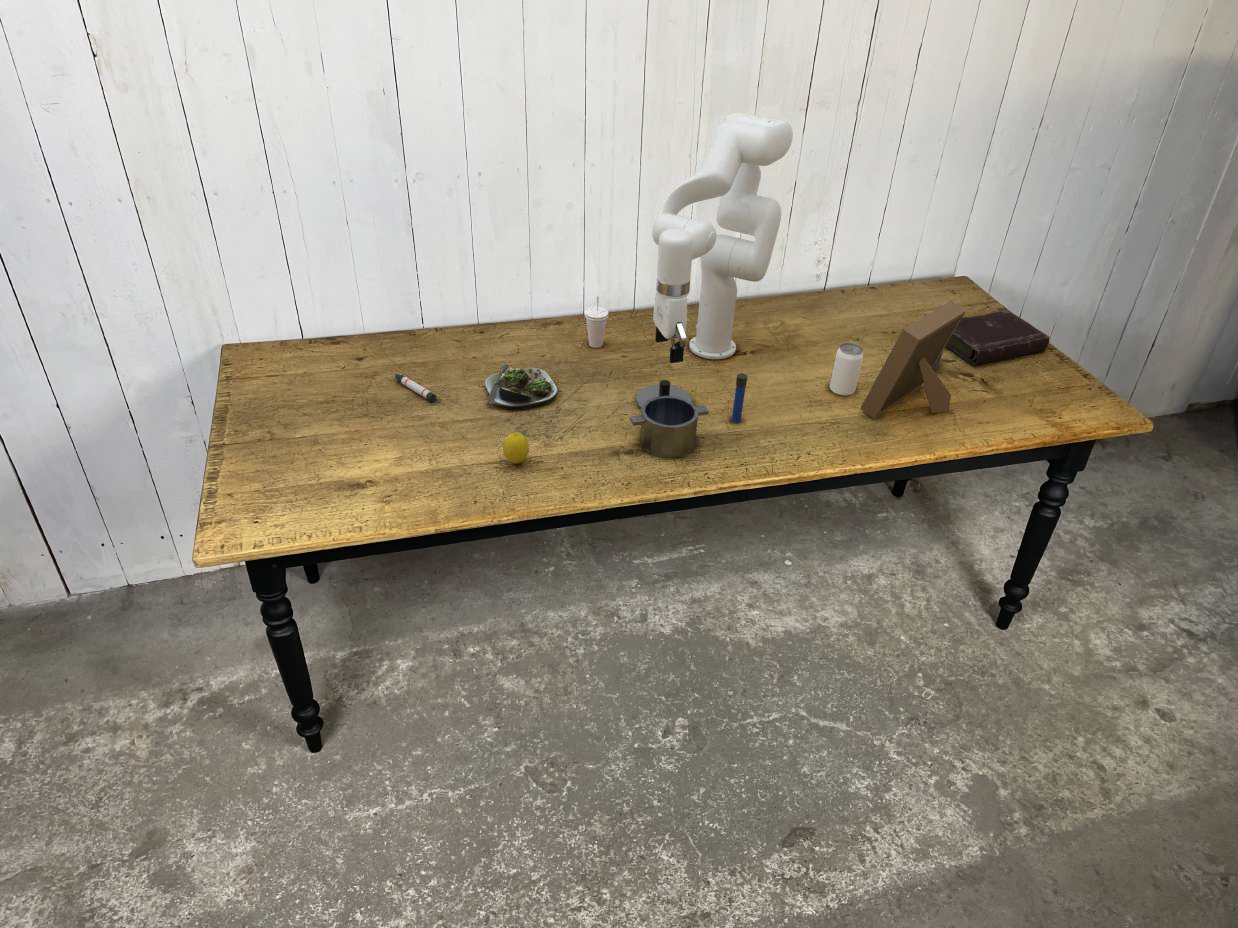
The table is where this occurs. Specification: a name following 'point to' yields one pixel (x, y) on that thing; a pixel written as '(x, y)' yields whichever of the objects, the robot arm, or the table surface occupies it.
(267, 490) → the table surface
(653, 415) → the pot
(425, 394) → the marker
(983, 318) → the diary
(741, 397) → the pen
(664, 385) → the pot lid
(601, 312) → the smoothie
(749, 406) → the table surface
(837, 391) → the can
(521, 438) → the lemon
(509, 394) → the salad plate
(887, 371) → the photo frame
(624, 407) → the table surface
